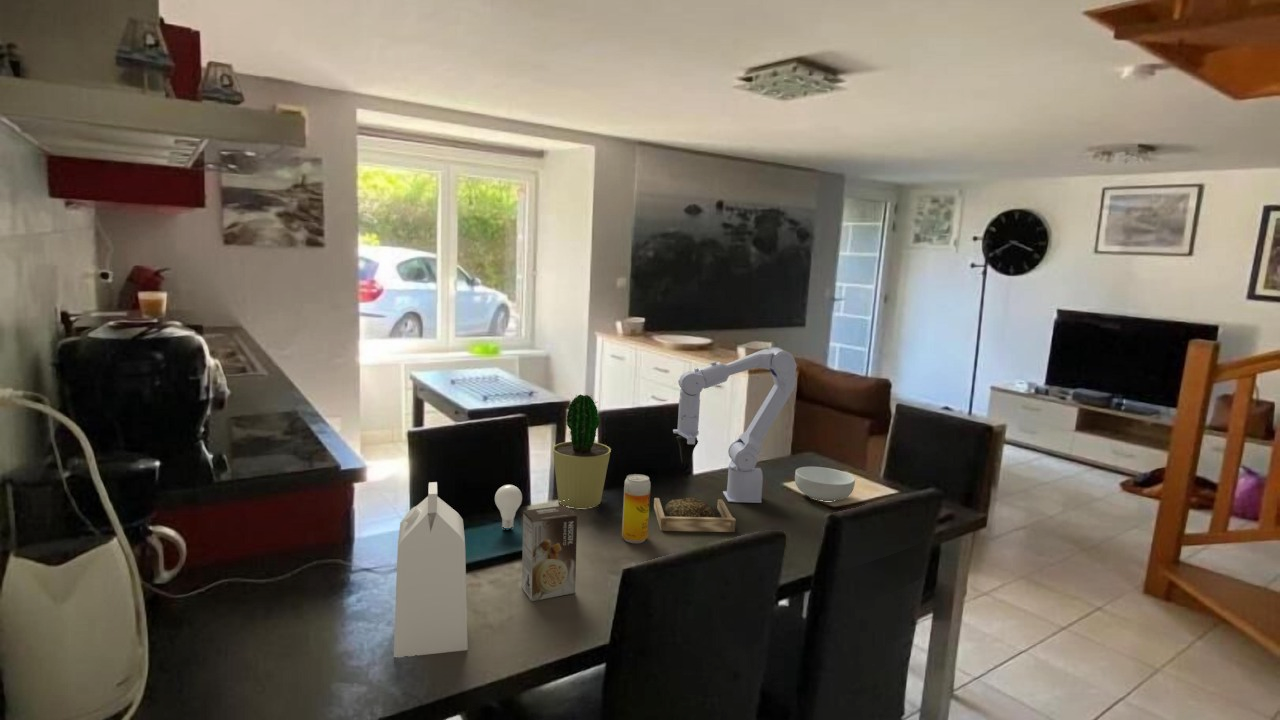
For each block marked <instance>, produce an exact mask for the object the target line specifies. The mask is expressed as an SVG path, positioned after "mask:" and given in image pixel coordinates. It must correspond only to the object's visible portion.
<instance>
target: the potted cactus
mask: <svg viewBox="0 0 1280 720" xmlns="http://www.w3.org/2000/svg"><path fill="white" fill-rule="evenodd" d="M570 399H571V400H570V401H569V404H568V403H567V410H565V417H564V416H563V419H564V423H565V428H566V429H567V430H570V431H569V433H570V434H569V436H570V437H569V440H570V441H564V442H560V443H557V444H555V445H553V447H552V452H553V453H552V454H553V463H554V471H555V482H556V489H557V500H558V504H559V503H561V505H560V506H562V505H565V506H569V507H574V508H589V507H593V506H597V505H598V504H600V505H601V501H602V497H603V492H604V491H603V490H604V486H605V481H606V476H607V470H608V465H609V462H610V456H611V452H612V451H611V450H612V448H611V447H610V446H607V444H603V443H600V442H597V440H596V437H599V435H598V433H599V432H598V428H601V427H602V426H601V425H602V424H600V423H601V421H600V420H601V417H599V414H602V413H603V412H598V411H599V406H597V405H596V404H597V403H598V401H594V398H593V394H591V395H588V394H583V395H582V394H575V396H574V397H573V398H572V397H571V398H570ZM568 499H569V500H568ZM563 500H565V501H563ZM559 501H561V502H559ZM597 507H598V506H597Z"/></svg>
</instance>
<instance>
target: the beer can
mask: <svg viewBox="0 0 1280 720" xmlns="http://www.w3.org/2000/svg"><path fill="white" fill-rule="evenodd" d="M651 483H652V482H651V481H650V477H649V476H648V475H645V474H638V473H637V474H636V473H634V474H632V473H631V474H628V475H626V478H625V480H624V484H623V485H624V487H623V503H622V504H623V505H622V506H623V508H622V525H621V526H622V527H621V537H622V538H623V539H624V541H625V542H628V543H631V544H641V543H644V542H645V541H646V539H648V536H649V519H650V517H649V516H650V502H651V500H650V499H651V487H652V486H651Z"/></svg>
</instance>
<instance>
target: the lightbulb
mask: <svg viewBox="0 0 1280 720" xmlns="http://www.w3.org/2000/svg"><path fill="white" fill-rule="evenodd" d="M522 501H523V494H522V492H521V490H520V489H519V487H517V486H515V485H513V484H504V485H502V486H501V487H499V488H498V489H497V491H496V492H495V495H494V502H495V505H496V507H497V509H498V510H499V512H500V516H501V528H502V527H504V528H511V527H513V528H514V521H515V517H516V512H517V511H518V509H519V508H520V506H521V505H522V503H523V502H522Z"/></svg>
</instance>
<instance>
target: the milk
mask: <svg viewBox="0 0 1280 720" xmlns="http://www.w3.org/2000/svg"><path fill="white" fill-rule="evenodd" d="M427 493H428V495H427V496H426V497H425V498H424V499H423V500H421V501H420V502H419V503H418V504H417V505H416V506H413V507H412V508H410V509H409V511H408V512H407V513H406V515H405V516H404V517H403V519H402V520H401V522H399V523H400V524H399V530H398V540H397V553H396V554H397V555H396V556H397V557H396V580H395V581H396V582H395V583H396V586H395V605H394V607H395V608H394V609H395V611H394V633H393V634H394V636H393V638H394V639H393V658H394V657H396V658H397V657H398V658H405V657H404V656H408V657H413V656H414V657H415V655H417V656H424V655H433V654H442V653H443V654H444V653H452V652H462V651H468V646H469V645H468V616H467V615H468V613H467V610H468V609H467V607H468V606H467V569H466V568H467V567H466V539H465V538H466V537H465V529H464V527H465V526H464V519H463V518H462V516H461V515H460V514H459V512H457V511H456V510H455V509H453V507H451V506H450V505H449V504H448V503H446V501H444V500H443V499H441V498H440V497H439V496H438V482H437V481H434V482H433V481H432V482H430V481H429V482H428V492H427ZM396 658H395V659H396Z"/></svg>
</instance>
